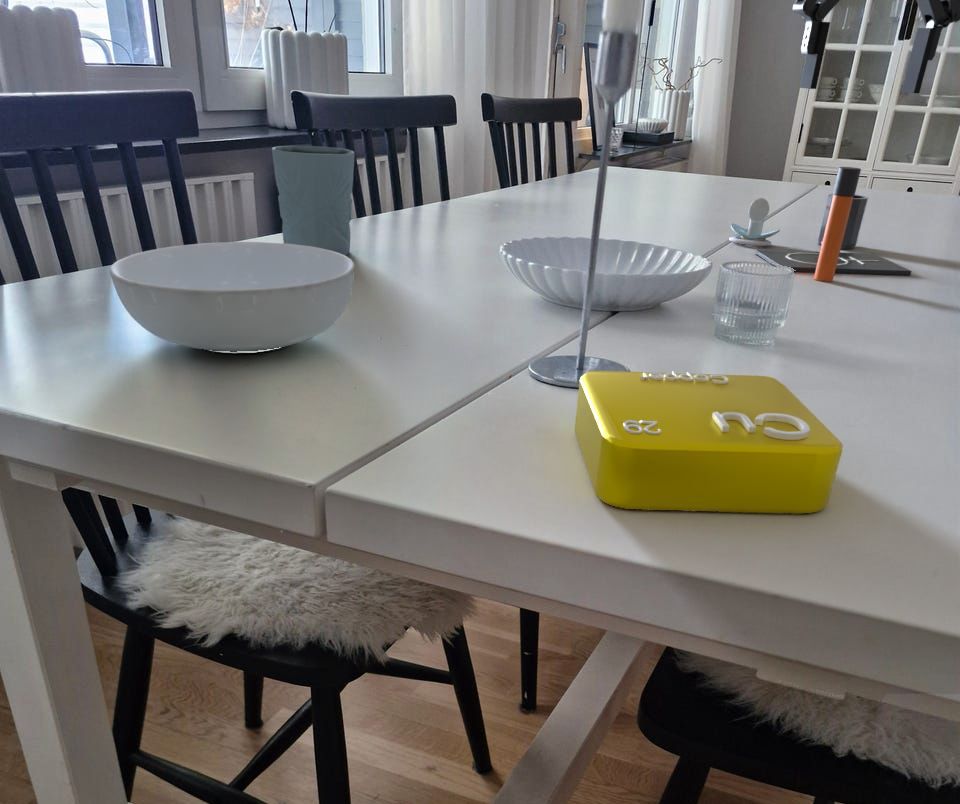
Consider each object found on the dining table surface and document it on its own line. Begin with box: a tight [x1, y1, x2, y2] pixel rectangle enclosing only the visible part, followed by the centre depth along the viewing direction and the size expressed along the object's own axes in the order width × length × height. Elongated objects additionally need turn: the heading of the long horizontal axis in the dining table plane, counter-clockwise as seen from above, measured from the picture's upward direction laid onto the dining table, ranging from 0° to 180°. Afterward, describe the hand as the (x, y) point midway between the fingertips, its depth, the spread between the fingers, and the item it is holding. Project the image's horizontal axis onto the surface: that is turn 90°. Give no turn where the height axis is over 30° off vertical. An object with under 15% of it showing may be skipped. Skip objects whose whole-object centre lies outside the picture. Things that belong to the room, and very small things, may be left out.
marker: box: [813, 166, 862, 283], centre depth 113 cm, size 3×3×13 cm
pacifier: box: [728, 197, 781, 247], centre depth 135 cm, size 7×6×6 cm
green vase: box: [271, 145, 356, 256], centre depth 115 cm, size 10×10×12 cm
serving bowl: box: [109, 241, 356, 352], centre depth 81 cm, size 21×21×7 cm
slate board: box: [754, 249, 913, 276], centre depth 126 cm, size 18×12×1 cm, turn 93°
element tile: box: [574, 370, 844, 515], centre depth 60 cm, size 15×15×5 cm
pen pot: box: [817, 193, 869, 250], centre depth 137 cm, size 6×6×7 cm
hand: (859, 91), depth 108 cm, fingers open, 13 cm apart
